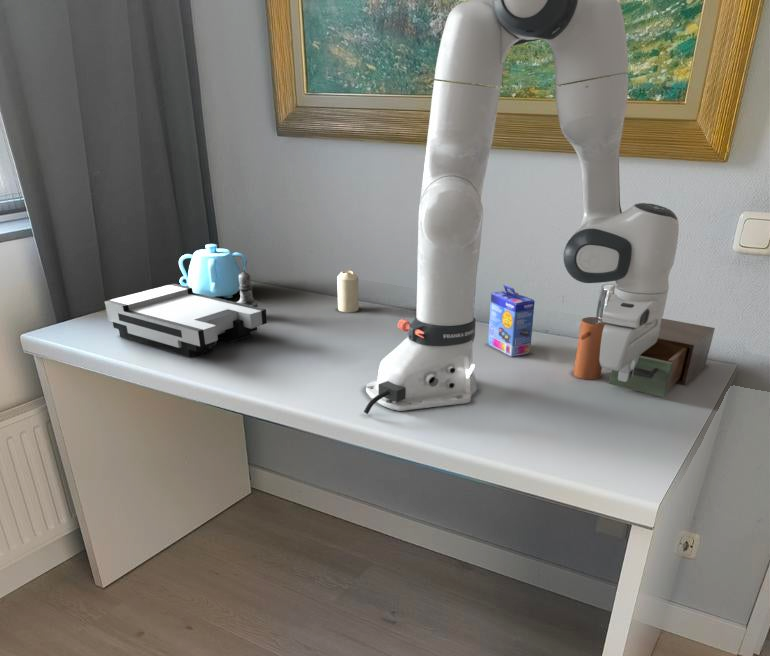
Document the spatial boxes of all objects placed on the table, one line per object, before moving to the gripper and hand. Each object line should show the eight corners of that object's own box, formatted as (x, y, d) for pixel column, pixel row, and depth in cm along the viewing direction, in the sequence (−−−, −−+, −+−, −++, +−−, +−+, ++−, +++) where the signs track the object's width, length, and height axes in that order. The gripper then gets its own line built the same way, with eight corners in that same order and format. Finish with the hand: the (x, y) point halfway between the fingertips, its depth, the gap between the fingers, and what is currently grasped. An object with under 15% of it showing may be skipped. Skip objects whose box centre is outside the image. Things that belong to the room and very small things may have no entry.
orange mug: (579, 368, 154) (588, 315, 148) (604, 374, 151) (614, 319, 145) (562, 380, 148) (570, 325, 142) (587, 386, 145) (596, 330, 139)
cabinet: (684, 385, 146) (694, 345, 141) (625, 371, 152) (633, 333, 148) (705, 365, 156) (714, 327, 151) (649, 354, 162) (657, 317, 158)
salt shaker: (248, 312, 189) (243, 265, 183) (264, 315, 186) (260, 268, 180) (232, 317, 185) (226, 269, 179) (248, 321, 182) (243, 273, 176)
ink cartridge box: (485, 344, 167) (490, 281, 159) (505, 341, 169) (510, 279, 162) (510, 357, 160) (517, 292, 152) (530, 353, 162) (538, 289, 154)
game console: (202, 362, 156) (197, 325, 152) (111, 335, 172) (104, 301, 167) (268, 338, 170) (265, 304, 166) (178, 315, 186) (174, 283, 182)
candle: (358, 312, 189) (357, 273, 184) (337, 312, 189) (336, 273, 184) (359, 306, 194) (358, 269, 188) (338, 306, 194) (337, 268, 188)
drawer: (656, 403, 135) (664, 370, 132) (600, 390, 141) (606, 357, 138) (685, 377, 147) (693, 345, 144) (633, 365, 153) (639, 335, 149)
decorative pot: (257, 294, 204) (253, 244, 197) (211, 305, 194) (205, 253, 187) (222, 284, 214) (216, 236, 207) (176, 294, 203) (169, 244, 196)
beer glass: (622, 360, 158) (635, 292, 150) (590, 358, 159) (601, 290, 151) (620, 350, 164) (632, 284, 156) (589, 348, 165) (599, 282, 157)
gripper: (642, 289, 134) (629, 360, 141) (598, 314, 120) (586, 391, 127) (676, 294, 130) (661, 366, 138) (635, 321, 117) (620, 399, 124)
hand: (624, 379), depth 132 cm, fingers closed
